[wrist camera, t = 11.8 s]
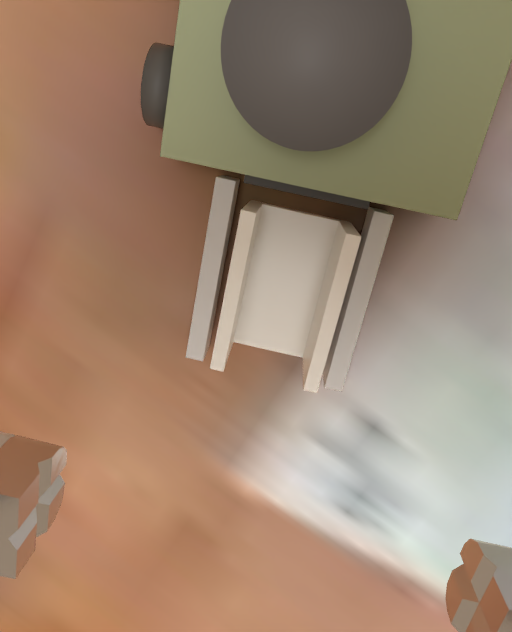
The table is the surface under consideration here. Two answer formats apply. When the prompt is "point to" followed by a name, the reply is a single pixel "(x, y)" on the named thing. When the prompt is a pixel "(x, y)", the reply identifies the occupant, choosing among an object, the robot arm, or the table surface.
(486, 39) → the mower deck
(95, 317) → the table surface
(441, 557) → the table surface
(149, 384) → the table surface
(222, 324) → the chute
